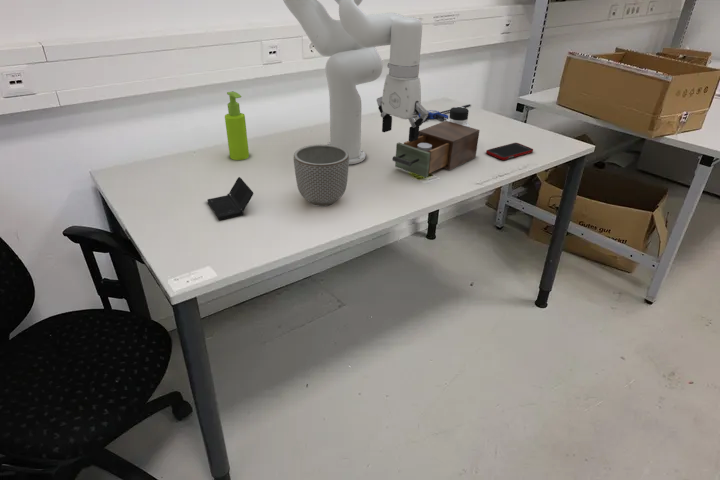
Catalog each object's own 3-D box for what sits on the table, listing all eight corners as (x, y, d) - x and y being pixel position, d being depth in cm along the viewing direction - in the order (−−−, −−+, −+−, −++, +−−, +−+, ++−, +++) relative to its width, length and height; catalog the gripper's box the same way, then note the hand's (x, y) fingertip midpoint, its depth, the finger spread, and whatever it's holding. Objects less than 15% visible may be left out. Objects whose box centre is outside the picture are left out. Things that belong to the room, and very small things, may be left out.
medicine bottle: (467, 146, 164) (472, 111, 158) (446, 146, 164) (450, 111, 158) (464, 139, 170) (468, 105, 164) (443, 139, 170) (447, 104, 164)
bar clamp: (434, 118, 182) (413, 112, 188) (433, 124, 183) (412, 118, 189) (482, 105, 202) (462, 99, 208) (481, 110, 203) (461, 105, 209)
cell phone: (533, 152, 161) (534, 149, 160) (502, 161, 154) (503, 158, 153) (515, 144, 166) (516, 142, 166) (484, 153, 159) (485, 150, 159)
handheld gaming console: (199, 199, 124) (219, 166, 123) (221, 207, 130) (240, 175, 129) (219, 222, 118) (241, 188, 116) (241, 229, 123) (262, 197, 122)
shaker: (420, 166, 144) (421, 148, 141) (413, 161, 148) (414, 143, 145) (432, 164, 146) (434, 146, 143) (426, 159, 149) (427, 142, 146)
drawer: (415, 182, 137) (417, 158, 133) (384, 171, 144) (385, 147, 140) (452, 164, 148) (455, 141, 145) (422, 154, 155) (424, 132, 151)
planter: (326, 184, 137) (326, 140, 130) (359, 202, 128) (360, 155, 121) (285, 198, 129) (282, 152, 122) (317, 218, 120) (315, 169, 114)
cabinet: (449, 170, 147) (453, 141, 142) (416, 158, 154) (418, 130, 150) (475, 157, 156) (479, 129, 152) (443, 147, 164) (446, 120, 159)
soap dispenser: (237, 162, 149) (228, 96, 139) (226, 155, 154) (218, 91, 143) (254, 158, 152) (247, 93, 142) (243, 151, 157) (236, 88, 146)
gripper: (369, 67, 127) (367, 130, 136) (420, 79, 117) (414, 147, 126) (389, 63, 132) (386, 125, 141) (440, 75, 121) (433, 141, 130)
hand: (399, 135), depth 133 cm, fingers open, 9 cm apart
